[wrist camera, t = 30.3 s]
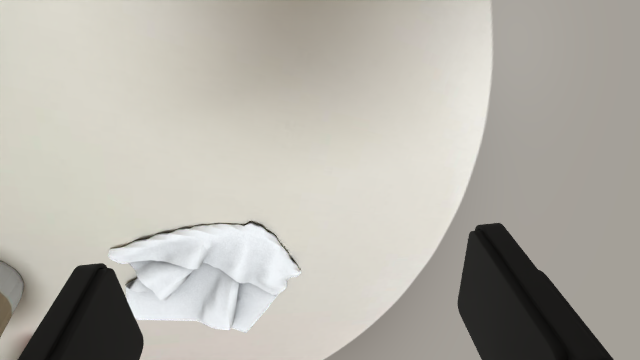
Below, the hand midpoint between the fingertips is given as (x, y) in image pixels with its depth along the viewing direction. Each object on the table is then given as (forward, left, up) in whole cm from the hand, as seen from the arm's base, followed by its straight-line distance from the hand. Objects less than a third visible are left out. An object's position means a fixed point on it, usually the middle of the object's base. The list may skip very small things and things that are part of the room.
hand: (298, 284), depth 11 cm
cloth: (+26, -13, -28) cm, 41 cm away
